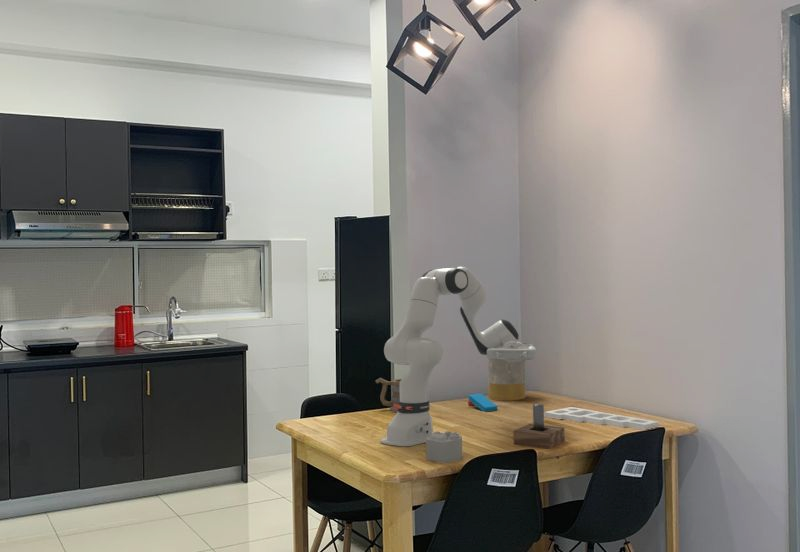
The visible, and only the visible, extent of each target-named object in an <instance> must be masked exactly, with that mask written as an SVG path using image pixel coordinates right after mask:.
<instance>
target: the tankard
mask: <svg viewBox="0 0 800 552" xmlns="http://www.w3.org/2000/svg"><path fill="white" fill-rule="evenodd" d="M401 379H402V378H397V379H393V380H391V381H388V380H386V379H384V378H382V377H379V378H378V379H376V380H375V383H376V384H379V383H381V384H382V387H381V392H380V395H379V396H380V402H381V404H382V405H383V406H385V407H386V406H387V407H389V411H390V410H391V411H390V412H393V411H394V412H393V413H397V412H398V411H397V409H394V404H397V405H398V404H399V401H400V381H401ZM388 386H390V392H392V396H390V397H391V399H390V401H388V400H386V395H387V391H388Z"/></svg>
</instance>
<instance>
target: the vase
mask: <svg viewBox="0 0 800 552" xmlns="http://www.w3.org/2000/svg"><path fill="white" fill-rule="evenodd" d="M502 347H503V345H502V346H501V347H499V348H502ZM525 361H526V360H521V361H517V362H513V363H512V362H508V361H506V360H505V359H504V358H487V374H488V375H487V379H488V385H487V389H488V399H489V400H493V401H500V402H501V401H502V402H508V401H509V402H512V401H513V400H515V401H522V400H524V398H525V399H526V373H525V372H526V367H525V366H526V364H525V363H526V362H525ZM521 399H522V400H521Z"/></svg>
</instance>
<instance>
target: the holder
mask: <svg viewBox="0 0 800 552" xmlns="http://www.w3.org/2000/svg"><path fill="white" fill-rule="evenodd" d="M547 417H549V418H548V419H552V418H556V419H555V420H557V419H563V420H565V419H568V420H567V421H570V420H572V421H571V422H575V421H577V422H576V423H588V422H590V423H589V424H593V423H594V424H595V425H598V424H600V425H599V426H603V425H606V424H607V425H606V426H611V425H612V427H616V426H618V427H617V428H622V427H623V428H629V427H632V428H631V429H635V428H636V430H640V431H641V430H642V431H647V430H646V429H649V430H652V429H651V428H653V429H656V428H655V427H658V428H659V421H655V420H651V419H650V420H649V419H645V418H638V417H632V416H628V415H627V416H626V415H622V414H621V415H620V414H614V413H609V412H603V411H597V410H592V409H587V408H580V407H573V406H570V407H564V408H559V409H553V410H547V411H544V418H547ZM583 421H584V422H583ZM602 424H603V425H602Z"/></svg>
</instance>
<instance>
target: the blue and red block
mask: <svg viewBox="0 0 800 552" xmlns="http://www.w3.org/2000/svg"><path fill="white" fill-rule="evenodd" d="M467 399H468V401H467V404H468V406H470V407H474V406H476V407H477V408H478V409H479V410H480V411H482V412H484V413H485V412H486V413H487V412H492V411H494V410H495V411H497V410H498V405H497V404H495V403H494V402H493V401H491V399H489V397H486V396H485V395H484V394H483V393H473V394H469V395H468V398H467Z"/></svg>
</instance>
